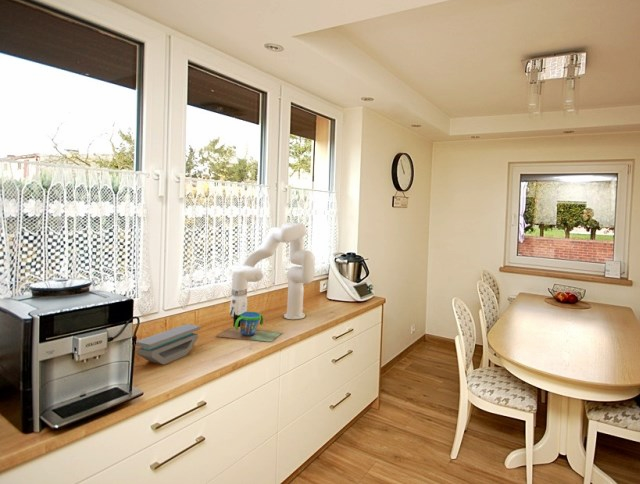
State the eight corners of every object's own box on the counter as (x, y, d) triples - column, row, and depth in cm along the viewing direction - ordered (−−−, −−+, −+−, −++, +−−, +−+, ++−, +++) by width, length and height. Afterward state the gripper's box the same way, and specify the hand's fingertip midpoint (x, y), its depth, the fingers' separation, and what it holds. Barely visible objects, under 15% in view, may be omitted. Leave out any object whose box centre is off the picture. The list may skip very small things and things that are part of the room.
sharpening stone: (148, 371, 144) (149, 344, 144) (133, 367, 147) (134, 341, 146) (199, 349, 168) (200, 326, 168) (185, 346, 171) (187, 323, 170)
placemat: (230, 328, 198) (230, 328, 198) (281, 333, 195) (281, 332, 195) (216, 337, 185) (216, 336, 185) (270, 342, 182) (271, 341, 182)
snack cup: (256, 327, 200) (259, 309, 200) (266, 333, 193) (269, 315, 193) (228, 332, 188) (231, 313, 188) (238, 339, 181) (240, 319, 181)
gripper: (238, 295, 182) (236, 331, 182) (252, 289, 197) (250, 323, 197) (224, 294, 183) (222, 330, 183) (239, 288, 197) (237, 321, 198)
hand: (236, 326), depth 190 cm, fingers closed
